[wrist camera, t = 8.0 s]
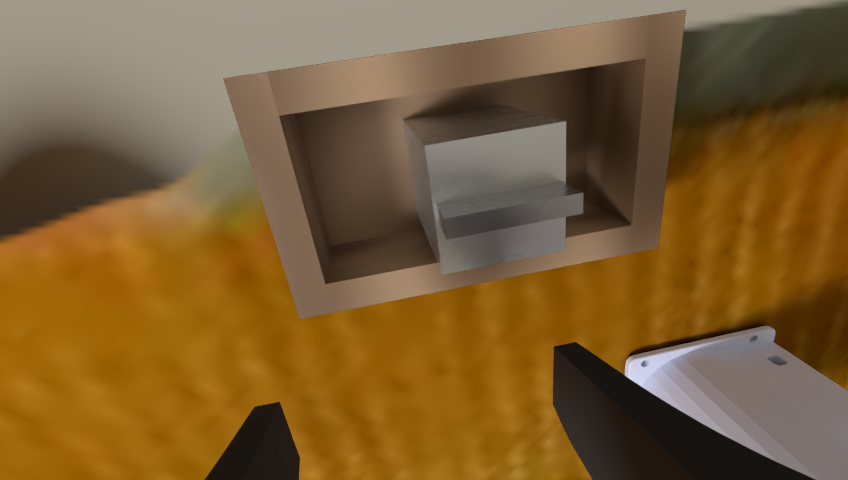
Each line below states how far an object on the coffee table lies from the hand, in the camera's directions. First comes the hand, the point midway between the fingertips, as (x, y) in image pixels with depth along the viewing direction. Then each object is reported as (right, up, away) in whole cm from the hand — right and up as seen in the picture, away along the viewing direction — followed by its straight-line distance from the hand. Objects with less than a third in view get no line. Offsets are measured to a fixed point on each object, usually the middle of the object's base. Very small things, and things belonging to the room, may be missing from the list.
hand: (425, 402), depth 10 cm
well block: (+1, +8, +7) cm, 11 cm away
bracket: (+1, +8, +7) cm, 10 cm away
